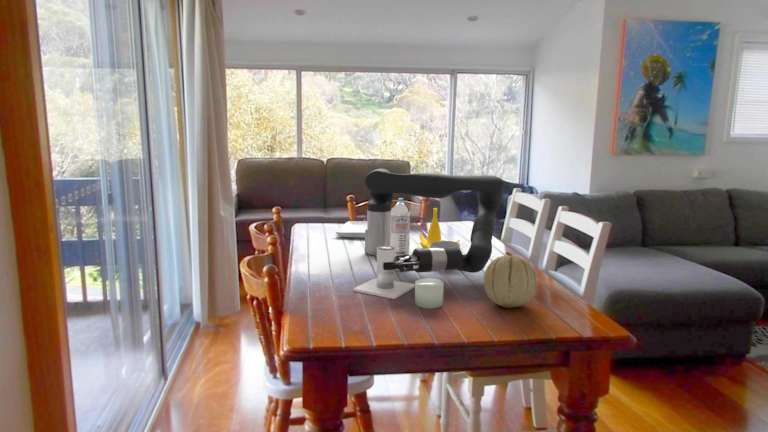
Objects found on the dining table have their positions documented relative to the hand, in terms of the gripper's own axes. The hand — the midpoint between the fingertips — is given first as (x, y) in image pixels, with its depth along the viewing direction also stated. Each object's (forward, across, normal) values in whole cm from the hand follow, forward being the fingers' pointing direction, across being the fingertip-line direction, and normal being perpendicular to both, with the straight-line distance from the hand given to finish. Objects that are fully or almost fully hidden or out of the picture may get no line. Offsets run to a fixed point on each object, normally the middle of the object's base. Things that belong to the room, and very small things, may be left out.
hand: (379, 262), depth 155 cm
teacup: (-32, -24, +9) cm, 41 cm away
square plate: (-18, -81, +9) cm, 84 cm away
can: (-2, 0, +8) cm, 8 cm away
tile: (-2, 0, +8) cm, 9 cm away
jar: (-10, +16, +8) cm, 21 cm away
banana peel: (-40, -49, +9) cm, 64 cm away
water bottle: (-13, -21, +9) cm, 26 cm away
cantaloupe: (-32, +23, +9) cm, 40 cm away
